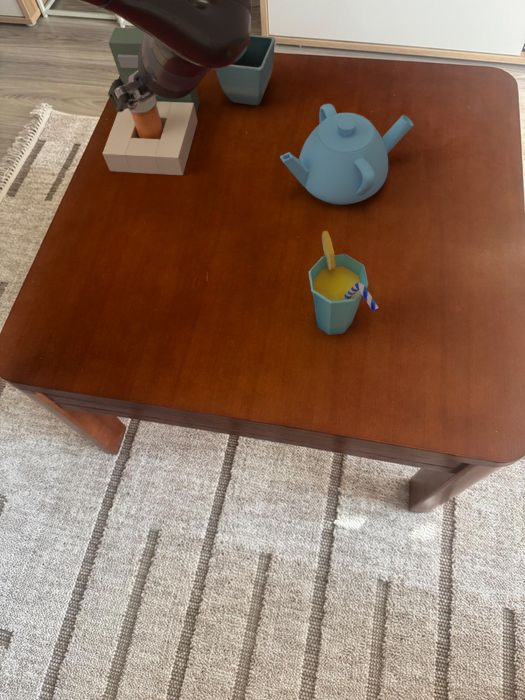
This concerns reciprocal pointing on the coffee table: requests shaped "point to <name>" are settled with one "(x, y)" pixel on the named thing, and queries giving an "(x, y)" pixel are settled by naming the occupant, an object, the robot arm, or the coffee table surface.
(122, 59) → the green upright block
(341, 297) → the cup
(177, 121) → the hollow square tile
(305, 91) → the coffee table surface
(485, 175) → the coffee table surface
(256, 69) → the flower pot
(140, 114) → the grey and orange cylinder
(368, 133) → the teapot
